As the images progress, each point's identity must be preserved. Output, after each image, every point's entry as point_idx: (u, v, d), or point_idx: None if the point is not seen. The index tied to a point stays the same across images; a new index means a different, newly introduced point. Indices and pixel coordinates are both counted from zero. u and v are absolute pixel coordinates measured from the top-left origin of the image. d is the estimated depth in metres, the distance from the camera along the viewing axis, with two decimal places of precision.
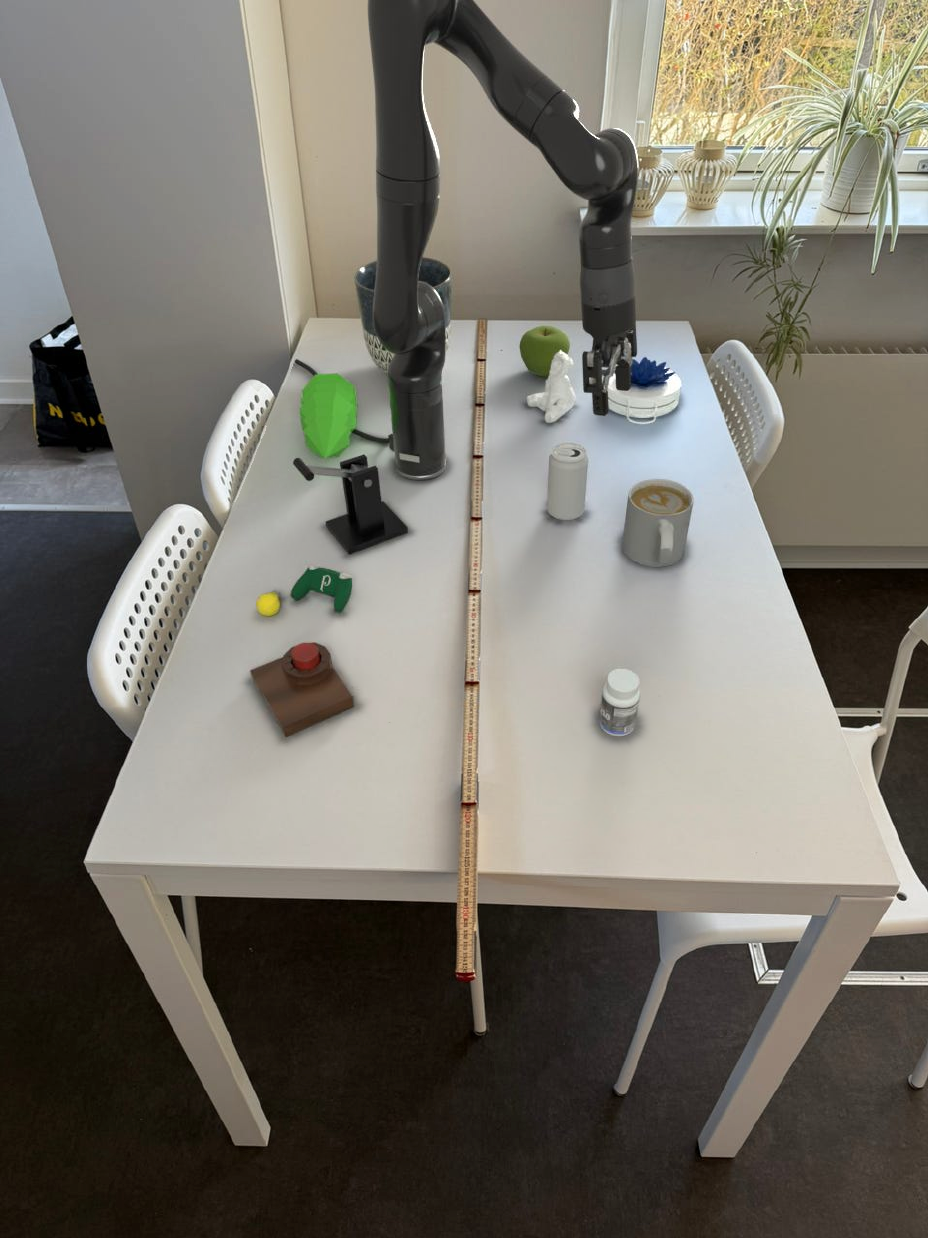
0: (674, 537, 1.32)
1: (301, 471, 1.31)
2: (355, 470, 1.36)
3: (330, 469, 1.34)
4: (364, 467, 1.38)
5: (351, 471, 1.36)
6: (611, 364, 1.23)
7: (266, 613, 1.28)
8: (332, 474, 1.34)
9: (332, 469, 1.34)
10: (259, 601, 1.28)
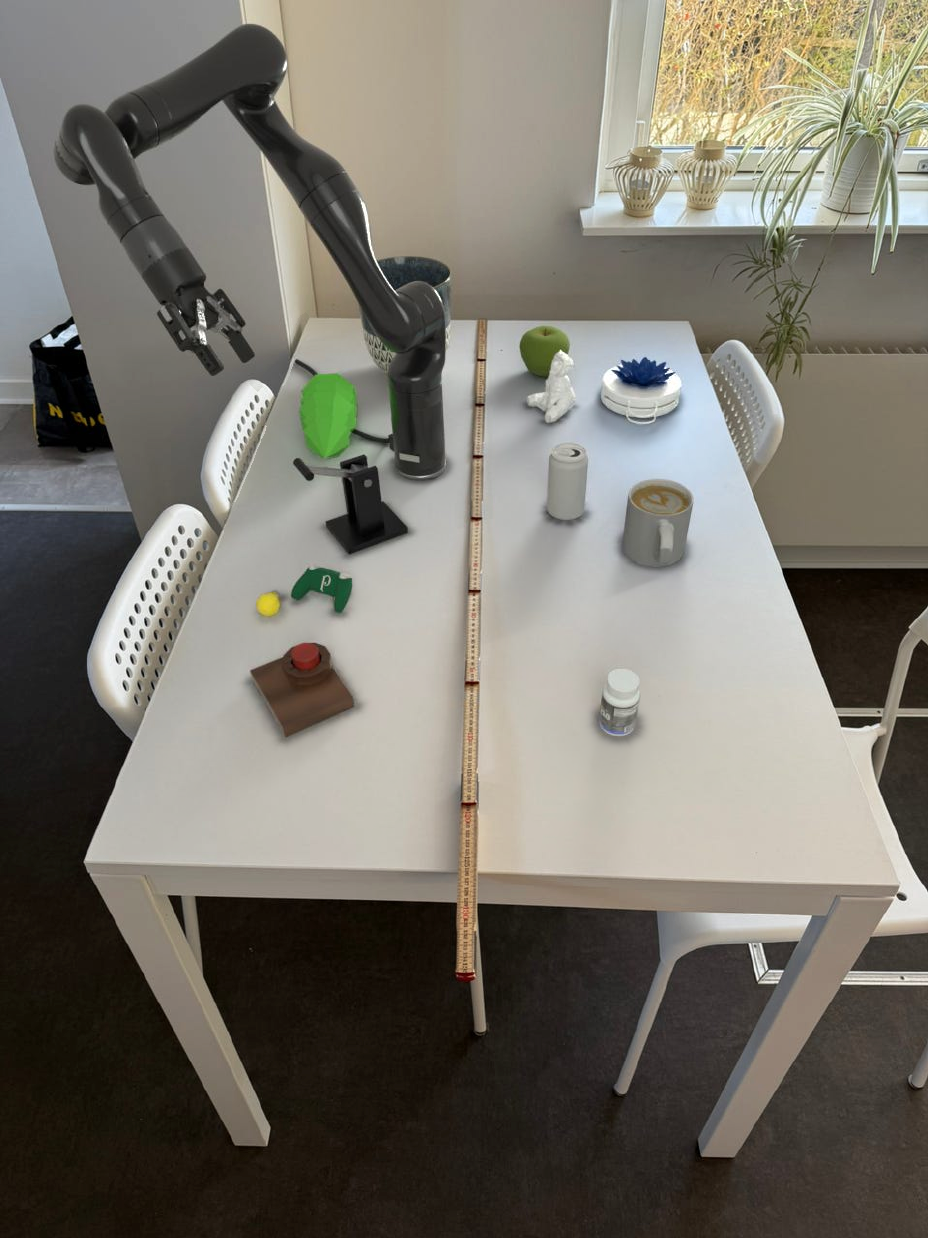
0: (674, 537, 1.32)
1: (301, 471, 1.31)
2: (355, 470, 1.36)
3: (330, 469, 1.34)
4: (364, 467, 1.38)
5: (351, 471, 1.36)
6: None
7: (266, 613, 1.28)
8: (332, 474, 1.34)
9: (332, 469, 1.34)
10: (259, 601, 1.28)
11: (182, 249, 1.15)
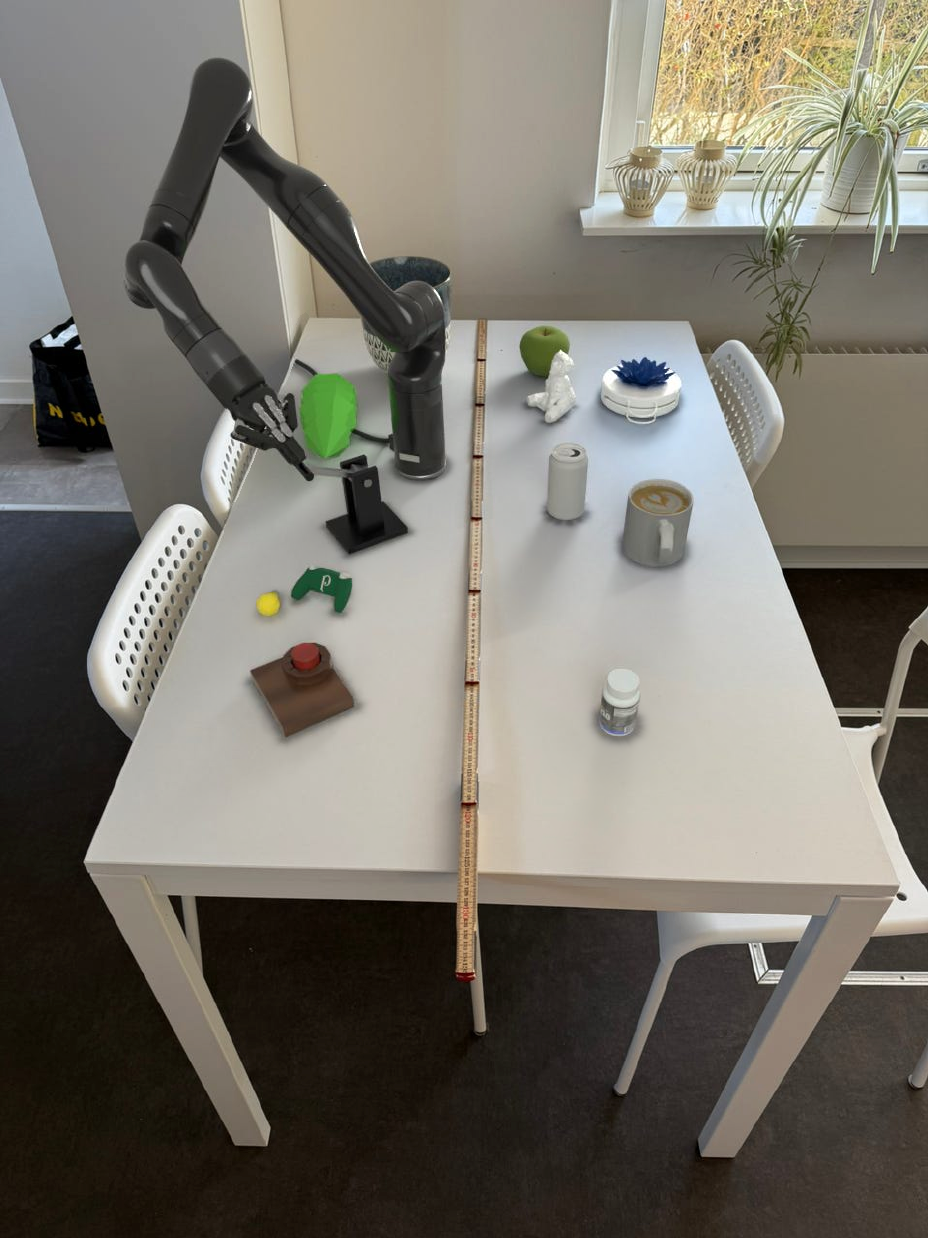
0: (674, 537, 1.32)
1: (301, 471, 1.31)
2: (355, 470, 1.36)
3: (330, 469, 1.34)
4: (364, 467, 1.38)
5: (351, 471, 1.36)
6: None
7: (266, 613, 1.28)
8: (332, 474, 1.34)
9: (332, 469, 1.34)
10: (259, 601, 1.28)
11: (235, 360, 1.24)
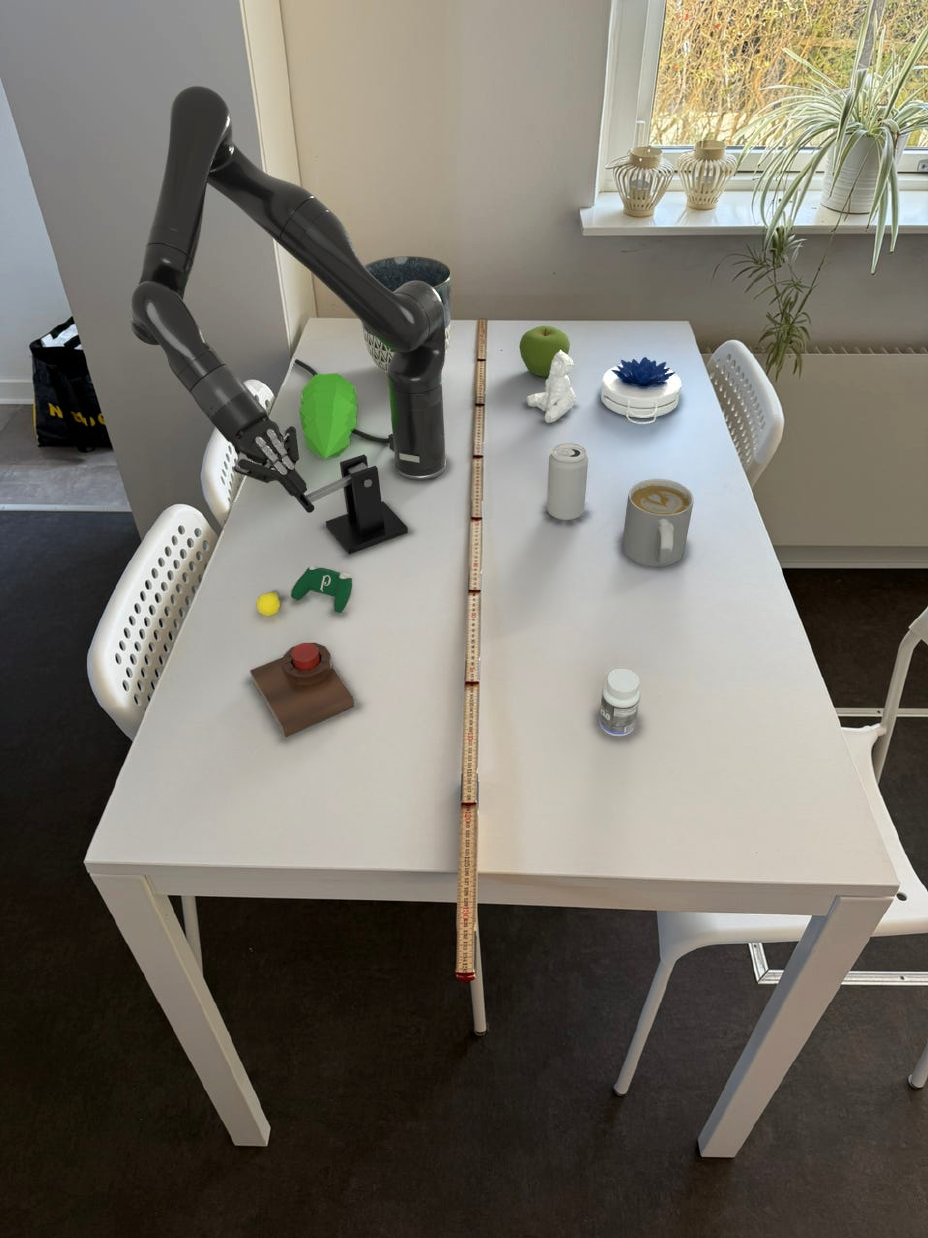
0: (674, 537, 1.32)
1: (302, 505, 1.34)
2: None
3: (328, 487, 1.36)
4: (360, 466, 1.37)
5: (349, 477, 1.37)
6: None
7: (266, 613, 1.28)
8: (332, 490, 1.36)
9: (330, 486, 1.36)
10: (259, 601, 1.28)
11: (239, 395, 1.28)
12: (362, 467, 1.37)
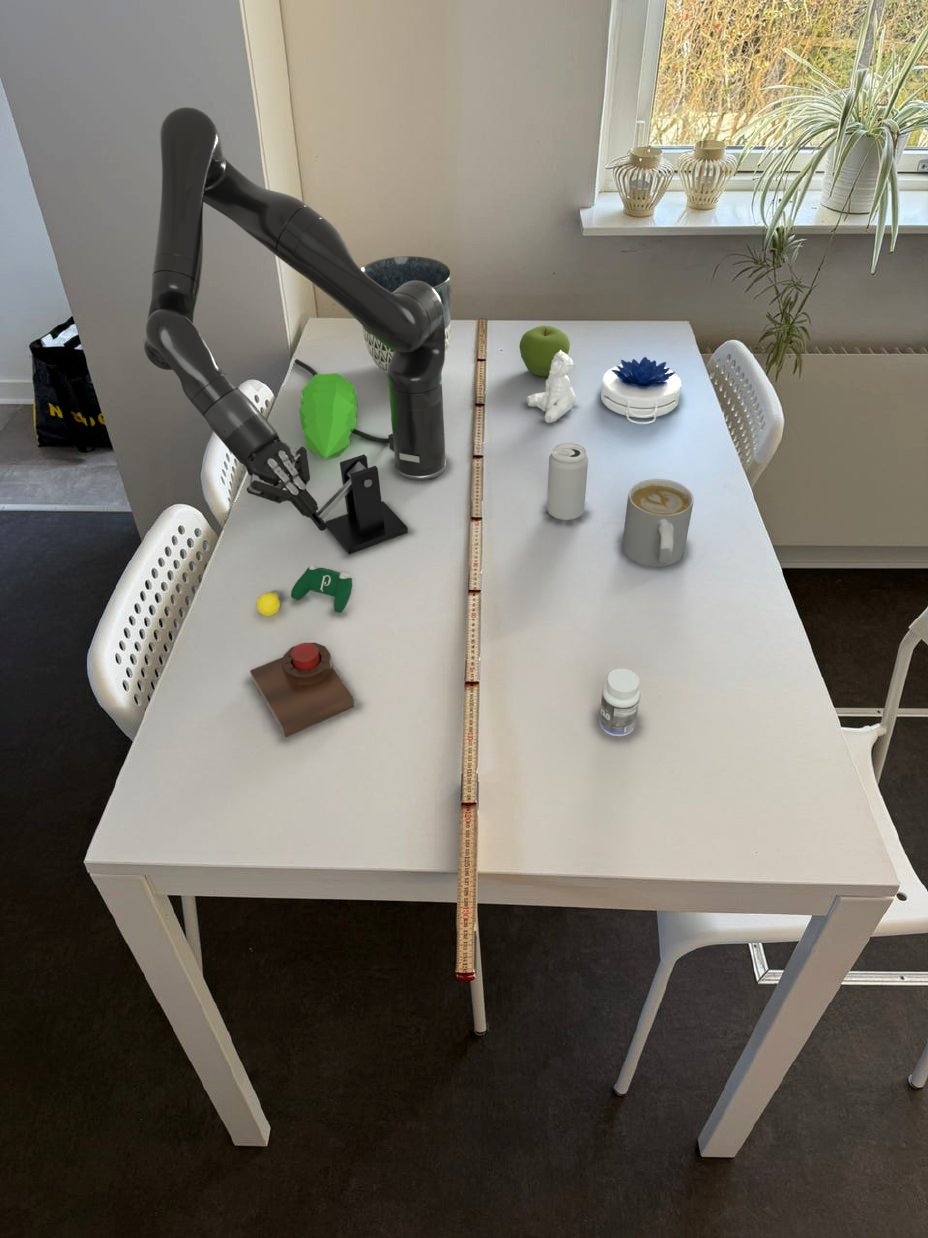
0: (674, 537, 1.32)
1: (315, 524, 1.38)
2: None
3: (334, 498, 1.38)
4: (357, 467, 1.37)
5: (350, 481, 1.37)
6: None
7: (266, 613, 1.28)
8: (339, 500, 1.38)
9: (335, 496, 1.38)
10: (259, 601, 1.28)
11: (251, 419, 1.31)
12: (359, 468, 1.37)
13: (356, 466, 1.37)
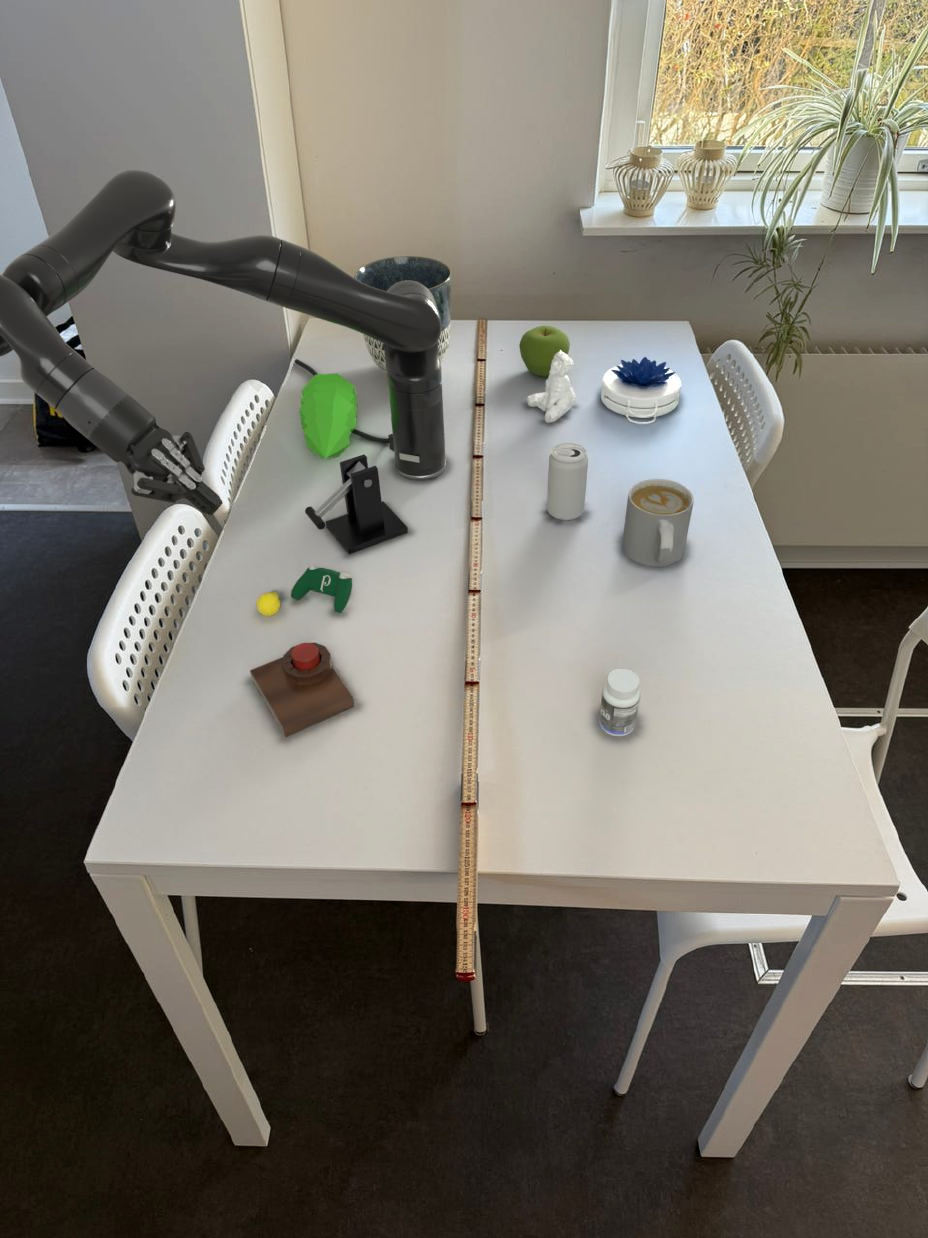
0: (674, 537, 1.32)
1: (314, 523, 1.38)
2: None
3: (333, 497, 1.37)
4: (357, 466, 1.37)
5: (350, 481, 1.37)
6: None
7: (266, 613, 1.28)
8: (338, 499, 1.38)
9: (335, 495, 1.37)
10: (259, 601, 1.28)
11: (121, 402, 1.05)
12: (359, 467, 1.37)
13: (356, 466, 1.37)
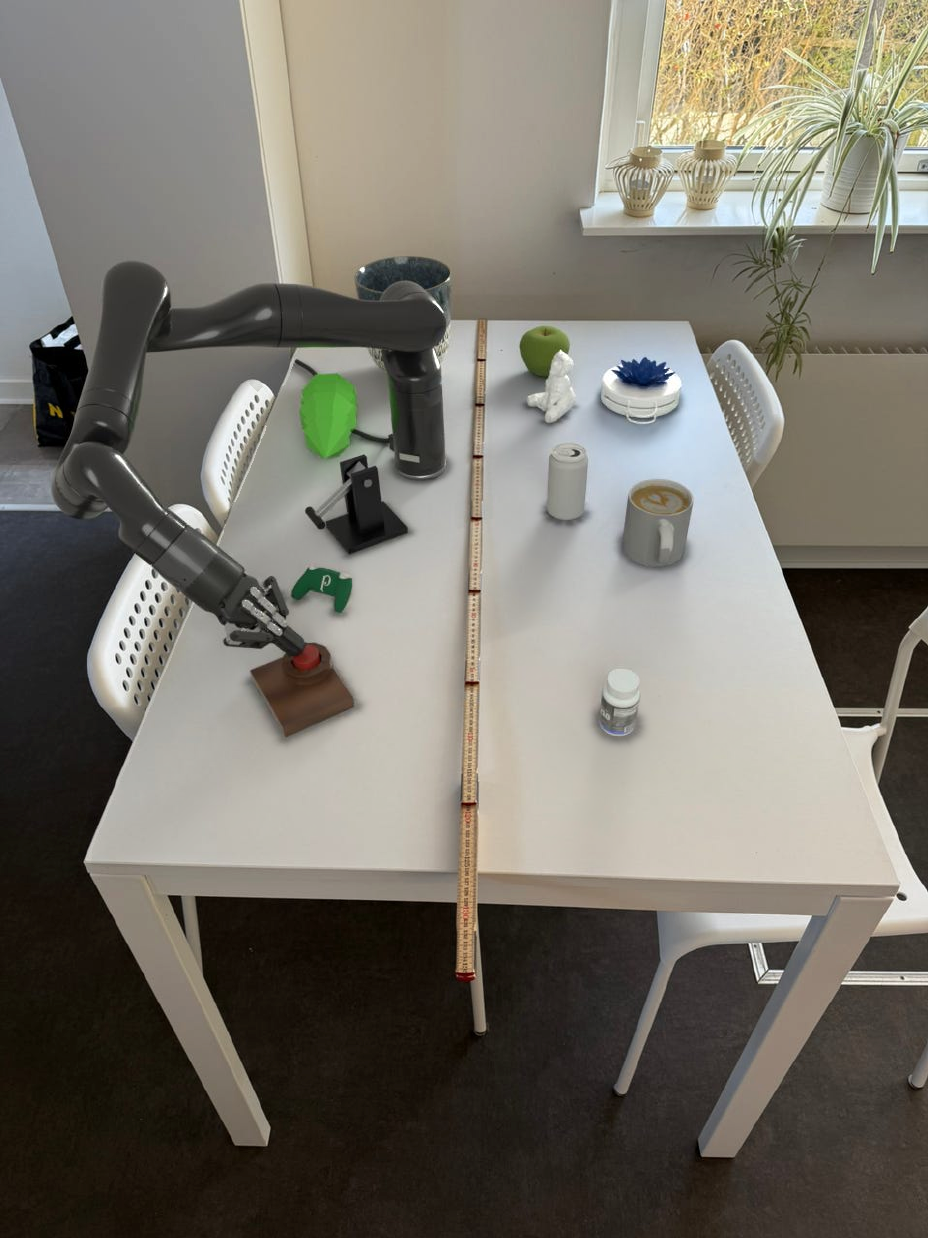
0: (674, 537, 1.32)
1: (314, 523, 1.38)
2: None
3: (333, 497, 1.37)
4: (357, 466, 1.37)
5: (350, 481, 1.37)
6: None
7: None
8: (338, 499, 1.38)
9: (335, 495, 1.37)
10: None
11: (214, 559, 1.08)
12: (359, 467, 1.37)
13: (356, 466, 1.37)
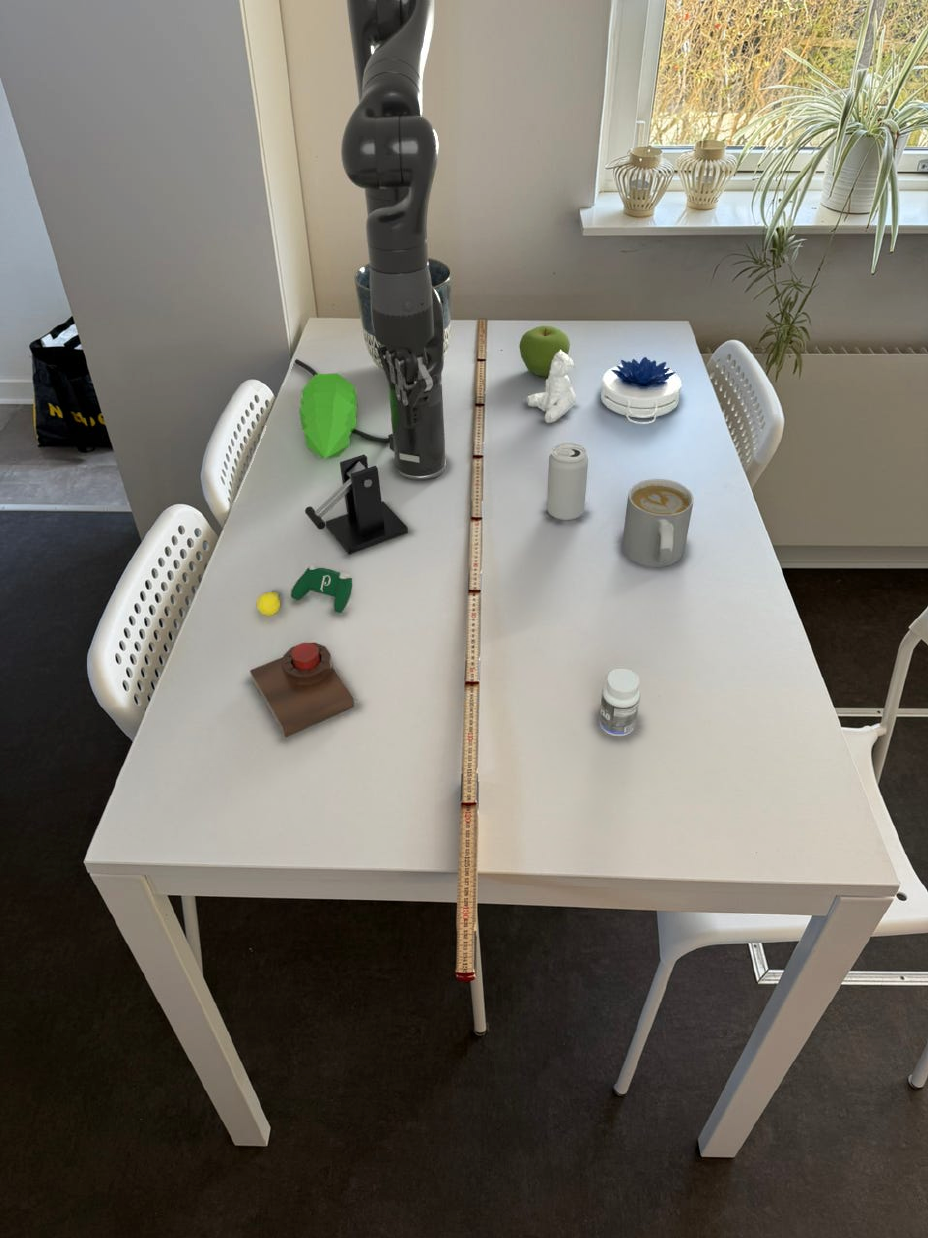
0: (674, 537, 1.32)
1: (314, 523, 1.38)
2: None
3: (333, 497, 1.37)
4: (357, 466, 1.37)
5: (350, 481, 1.37)
6: None
7: (266, 612, 1.28)
8: (338, 499, 1.38)
9: (335, 495, 1.37)
10: (259, 600, 1.28)
11: None
12: (359, 467, 1.37)
13: (356, 466, 1.37)
